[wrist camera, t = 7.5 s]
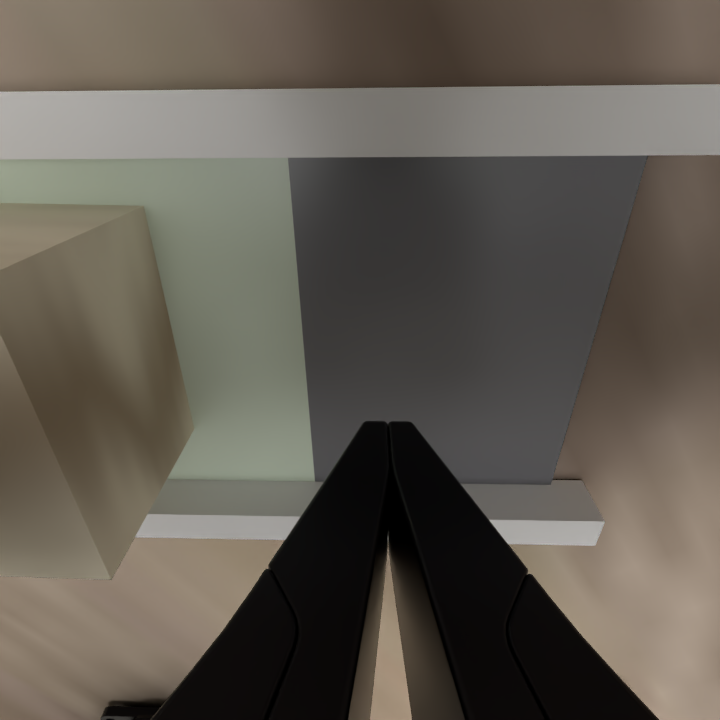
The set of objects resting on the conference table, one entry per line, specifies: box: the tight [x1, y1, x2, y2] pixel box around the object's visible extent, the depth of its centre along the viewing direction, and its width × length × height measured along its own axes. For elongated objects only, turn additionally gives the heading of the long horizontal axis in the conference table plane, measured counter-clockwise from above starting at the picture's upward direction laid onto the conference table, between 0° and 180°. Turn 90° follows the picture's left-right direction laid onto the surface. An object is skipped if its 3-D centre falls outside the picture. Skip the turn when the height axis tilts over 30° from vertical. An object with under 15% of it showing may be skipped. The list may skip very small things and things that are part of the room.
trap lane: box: [0, 84, 720, 546], centre depth 11 cm, size 11×26×2 cm, turn 90°
